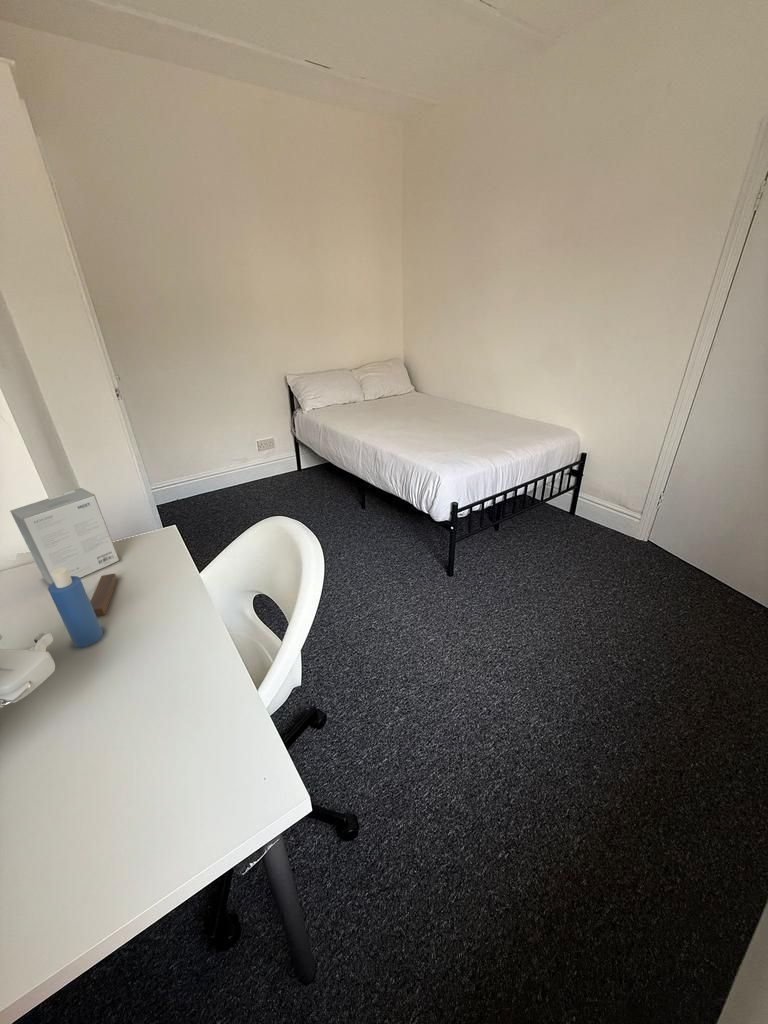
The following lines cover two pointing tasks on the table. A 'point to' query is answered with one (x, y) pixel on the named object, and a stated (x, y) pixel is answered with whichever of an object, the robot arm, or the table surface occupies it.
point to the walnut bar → (103, 594)
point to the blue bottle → (74, 608)
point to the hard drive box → (66, 534)
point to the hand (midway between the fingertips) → (22, 635)
